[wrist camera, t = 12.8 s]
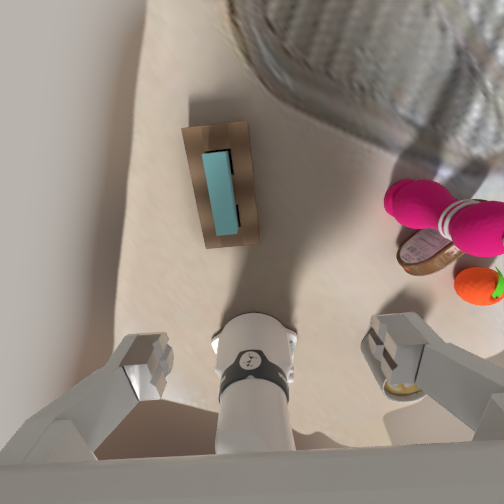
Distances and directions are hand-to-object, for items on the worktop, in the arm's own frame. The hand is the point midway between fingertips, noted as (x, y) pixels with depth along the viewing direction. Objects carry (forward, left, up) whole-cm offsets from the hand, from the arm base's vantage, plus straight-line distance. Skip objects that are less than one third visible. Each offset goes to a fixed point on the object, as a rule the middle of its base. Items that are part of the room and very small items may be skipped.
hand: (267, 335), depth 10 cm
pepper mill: (-4, -24, -33) cm, 41 cm away
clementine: (-20, -38, -33) cm, 54 cm away
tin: (-10, -29, -33) cm, 45 cm away
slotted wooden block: (+1, +5, -33) cm, 33 cm away
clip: (+1, +5, -33) cm, 33 cm away
